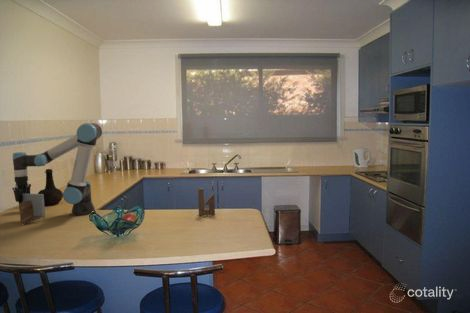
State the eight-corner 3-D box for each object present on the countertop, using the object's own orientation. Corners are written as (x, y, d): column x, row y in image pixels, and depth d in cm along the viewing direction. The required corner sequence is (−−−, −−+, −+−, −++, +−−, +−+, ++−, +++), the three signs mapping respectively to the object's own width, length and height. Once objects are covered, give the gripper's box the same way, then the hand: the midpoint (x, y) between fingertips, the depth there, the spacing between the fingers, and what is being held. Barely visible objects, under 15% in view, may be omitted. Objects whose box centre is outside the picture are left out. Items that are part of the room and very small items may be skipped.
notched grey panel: (45, 215, 233) (43, 194, 232) (42, 215, 231) (41, 194, 230) (22, 213, 237) (20, 193, 236) (19, 214, 235) (18, 193, 234)
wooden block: (215, 214, 238) (214, 188, 236) (198, 215, 237) (197, 189, 235) (214, 213, 242) (213, 187, 240) (198, 214, 240) (197, 188, 238)
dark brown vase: (39, 203, 286) (36, 168, 283) (63, 200, 293) (61, 166, 290) (37, 208, 270) (34, 171, 267) (63, 205, 277) (60, 169, 274)
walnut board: (44, 217, 243) (43, 197, 242) (23, 224, 226) (21, 203, 224) (42, 217, 243) (40, 196, 242) (21, 224, 226) (19, 203, 225)
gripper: (25, 173, 241) (28, 207, 243) (6, 177, 226) (9, 213, 229) (34, 174, 239) (37, 208, 242) (16, 177, 225) (19, 214, 227)
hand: (24, 210), depth 235 cm, fingers closed on notched grey panel, 2 cm apart
